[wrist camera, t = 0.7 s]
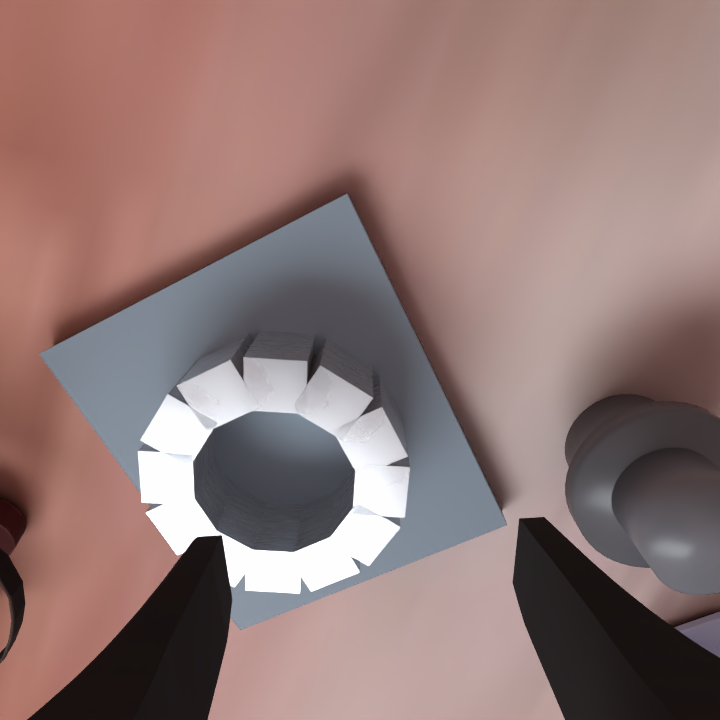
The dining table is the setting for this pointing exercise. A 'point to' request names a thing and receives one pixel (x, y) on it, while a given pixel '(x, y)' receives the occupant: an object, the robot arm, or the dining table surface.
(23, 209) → the dining table surface
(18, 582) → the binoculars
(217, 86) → the dining table surface
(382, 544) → the segmented white ring
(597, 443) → the grey rounded knob
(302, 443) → the mount plate
